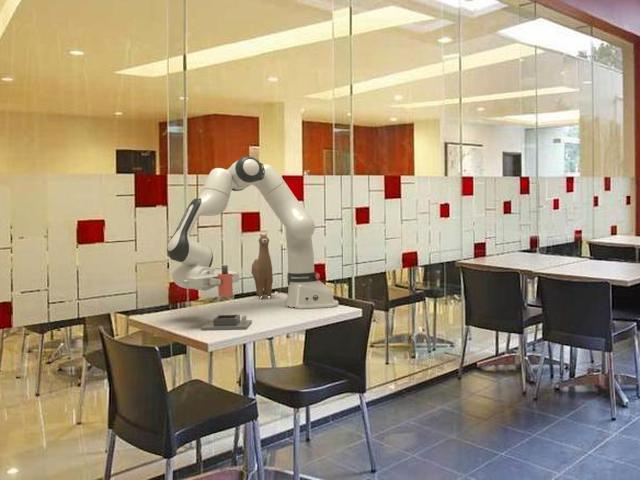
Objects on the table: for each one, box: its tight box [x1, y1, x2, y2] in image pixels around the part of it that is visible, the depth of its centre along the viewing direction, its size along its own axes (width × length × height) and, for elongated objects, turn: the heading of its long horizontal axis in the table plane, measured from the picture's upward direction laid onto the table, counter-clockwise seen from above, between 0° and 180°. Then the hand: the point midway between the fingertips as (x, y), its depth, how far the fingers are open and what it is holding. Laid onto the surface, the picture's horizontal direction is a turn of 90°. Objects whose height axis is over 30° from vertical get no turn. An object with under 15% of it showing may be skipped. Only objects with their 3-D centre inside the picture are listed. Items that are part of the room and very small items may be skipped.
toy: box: [250, 233, 274, 298], centre depth 287 cm, size 9×20×30 cm, turn 14°
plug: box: [217, 264, 234, 298], centre depth 220 cm, size 4×4×11 cm
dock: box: [200, 314, 253, 331], centre depth 221 cm, size 16×12×4 cm
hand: (226, 281), depth 220 cm, fingers closed on plug, 4 cm apart
